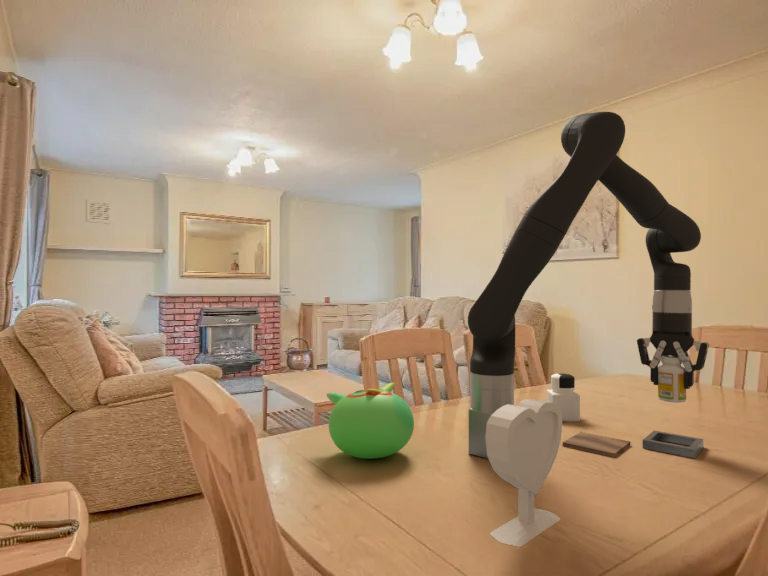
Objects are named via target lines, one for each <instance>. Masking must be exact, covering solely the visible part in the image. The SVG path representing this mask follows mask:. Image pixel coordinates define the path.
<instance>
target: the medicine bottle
mask: <svg viewBox="0 0 768 576" xmlns="http://www.w3.org/2000/svg"><path fill="white" fill-rule="evenodd" d="M575 383H576V382H575V376H573V374H569V373H563V372H562V373H558V372H557V373H554V374H551V376H550V388H551V389H546V402H549V403H554V404H556V405H558V406H559V407H560V409H561V413H562V422H574V423H575V422H578V423H579V422H580V421H581V396H580V394H579V393H577V392H576V391H575V390H576V388H575V386H576V385H575Z"/></svg>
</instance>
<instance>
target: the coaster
mask: <svg viewBox="0 0 768 576" xmlns="http://www.w3.org/2000/svg"><path fill="white" fill-rule="evenodd" d="M562 446H563V447H565V448H571V449H575V450H579V451H584V452H589V453H593V454H597V455H601V456H606V457H611V458H616V457H617V456H618V455H620V454H621V453H622V452H624V451H625V450H626V449H628V448H629V447H630V446H631V441H629V440H625V439H620V438H614V437H609V436H603V435H598V434H595V433H590V432H589V433H588V432H583V431H580V432H578V433H576V434H575V435H573V436H571V437H569V438H568V439H566V440H564V441H562Z"/></svg>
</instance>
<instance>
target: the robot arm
mask: <svg viewBox="0 0 768 576" xmlns="http://www.w3.org/2000/svg"><path fill="white" fill-rule="evenodd" d="M625 136H626V124H625V120H624V119H623V118H622V116H620V115H619V114H618V113H615V112H613V111H596V112H587V113H586V112H585V113H580V114H577V115H575V116H573V117H571V118H569V120H568V121H566V123H565V124H564V126H563V127H562V130H561V134H560V141H561V146H562V149H563V151H564V152H565V154H567V155H568V156H569V157H570V159H569V161H568V162H567V164H566V166H565V167H564V169H563V171H562V172H561V173H560V175H559V176H558V177H557V178H556V179H555V180H553V181H554V182H552V183H551V184H550V185H549V186H548V187H547V188H546V189H545V190H544V191H543V192H542V193H541V194H539V195H538V197H537V198H536V199H534V201H533V202H532V203H531V204H530V205H529V207H528V208H527V210H525V213H524V215H522V218H521V220H520V221H519V223H518V225H517V227H516V229H515V231H514V233H513V235H512V237H511V239H510V241H509V243H508V244H507V247H506V249H505V251H504V253H503V256H502V258H501V260H500V262H499V264H498V267H497V269H496V271H495V272H494V274H493V276H492V277H491V279H490V280H489V282H488V284H486V286H485V288H484V290H483V291H482V292H481V294H480V295H479V297H477V299H476V300H475V302H474V304H473V305H472V306H471V308H470V309H469V310H468V311H469V312H468V316H467V325H468V329H469V332H470V333H471V334H472V350H471V351H472V352H471V358H470V360H469V361H470V362H469V363H470V365H469V370H470V371H469V372H470V373H469V374H470V375H469V377H470V379H469V380H470V383H469V384H470V386H469V387H470V389H469V393H470V395H469V397H470V398H469V400H470V401H469V402H470V403H469V404H470V405H469V406H470V407H469V409H468V454H470V455H473V456H477V457H480V458H484V459H488V456H487V448H486V439H485V437H486V426H487V422H488V420H489V418H490V416H491V415H492V414H493V413H494V412H495V411H496V410H498V409H499V408H501V407H502V406H504V405H507V404H509V405H514V406H515V361H516V360H515V358H516V313H517V311H518V309H519V306H520V304H521V302H522V301H523V298H524V296H525V294H526V293H527V291H528V289H529V288H530V286H531V285H532V283H533V282H534V281H535V280H536V279H537V278H538V276H539V275H540V274H541V273H542V271H543V270H544V268H546V266H547V265H548V264H549V262H550V261H551V259H552V258H553V257H554V254H555V253H556V251H558V248H559V247H560V245H561V243H562V242H563V240H564V238H565V236H566V235H567V234H568V231H569V229H570V228H571V226H572V224H573V222H574V220H575V219H576V216H577V215H578V214H579V212H580V210H581V208H582V207H583V206H584V203H585V202H586V200H587V198H588V196H589V195H590V193H591V191H592V190H593V188H594V186H596V184H597V183H598V181H599V182H600V184H603V186H604V187H605V188H606V189H607V190H608V191H609V192H610V193H611V194H612V195H613V196H614V197H615V198H616V199H617V200H618V202H619V203H621V205H622V206H623V207H624V209H625V210H626V211H627V212H628V213H629V214H630V216H631V217H632V218H633V219H634V220H635V222H636V223H637V224H638V225H639V226H640V227H642V228H644V229H648V230H647V231H646V235H645V246H646V249H647V254H648V255H649V260H650V263H651V267H652V270H653V273H654V274H653V278H654V279H653V296H652V305H651V309H652V327H651V328H652V329H651V330H652V331H651V335H650V337H640V338H638V339H637V340H636V343H637V344H636V345H637V349H638V354H639V359H640V363H641V364H642V365H645V366H647V367H649V368H650V369H649V370H650V382H651V383H652V384H653V386H658V367H659V366H660V365H659V364H660V363H661V356H674V357H679V358H680V360H681V362H682V365H683V367H684V368H685V370H686V371H685V389H686V390H689V389H691V387H693V385H694V383H695V382H694V381H695V379H694V378H695V377H694V375H695V374H694V373H695V371H700V370H703V369H704V368H705V363H706V360H707V357H708V351H709V347H710V344H709V342H707V341H704V342H703V341H698V340H695V338H694V337H693V331H692V329H693V300H692V299H693V298H692V294H691V293H692V291H691V287H692V285H691V283H692V281H691V275H692V274H691V268H690V266H689V265H688V264H686V263H681V262H675V261H674V259H673V257H672V255H671V254H673V253H685V252H691V251H693V250H695V249H696V248H697V247H698V246H699V245H700V243H701V240H702V233H701V230H700V227H699V226H698V223H696V221H695V220H694V219H692V217H690V216H688V214H686V213H684V212H683V211H681V210H680V209H678V208H677V207H675V206H674V205H672V204H670V203H669V201H667V199H666V198H665V196H664V195H663V194H662V193H661V191H660V190H659V189H658V188H657V187H656V185H654V183H652V181H650V180H649V179H648V178H647V177H645V176H644V175H643V174H642V173H640V172H639V171H637V170H636V169H634V168H633V167H632V166H631V165H629V164H627V163H626V162H625V161H624V160H623V159H622V158H621V157H619V156H618V153H619V152H620V149H621V147H622V145H623V144H624V141H625ZM650 344H651V345H652V346H653V347H654V348H655V349H656V350H655V353H654V355H653V357H652V360H651V359H650V355H649V351H648V347H650ZM693 346H694V347H695V351H696V352H698V354H697V356H696V357H697V358H696V361H695V364H693V361H692V360H691V356H690V355H689V353H688V351H689V350H690V349H691V348H692V347H693ZM488 460H489V459H488Z"/></svg>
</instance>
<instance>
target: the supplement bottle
mask: <svg viewBox="0 0 768 576" xmlns="http://www.w3.org/2000/svg"><path fill="white" fill-rule="evenodd" d="M660 363H662V365H658V385H657V397H658V399H659V400H660V401H663V402H667V403H679V404H680V403H685V402H686V401H687V389H685V371H686V369H685V367H684V366H682V365H683V363H682V362H681V360H680V358H679V357H674V356H671V355H670V356H661V361H660Z"/></svg>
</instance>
